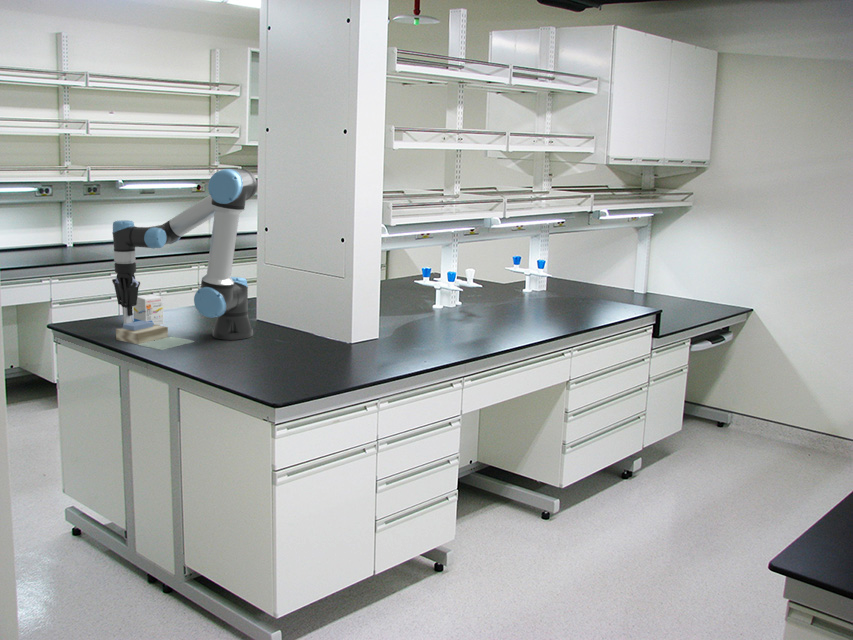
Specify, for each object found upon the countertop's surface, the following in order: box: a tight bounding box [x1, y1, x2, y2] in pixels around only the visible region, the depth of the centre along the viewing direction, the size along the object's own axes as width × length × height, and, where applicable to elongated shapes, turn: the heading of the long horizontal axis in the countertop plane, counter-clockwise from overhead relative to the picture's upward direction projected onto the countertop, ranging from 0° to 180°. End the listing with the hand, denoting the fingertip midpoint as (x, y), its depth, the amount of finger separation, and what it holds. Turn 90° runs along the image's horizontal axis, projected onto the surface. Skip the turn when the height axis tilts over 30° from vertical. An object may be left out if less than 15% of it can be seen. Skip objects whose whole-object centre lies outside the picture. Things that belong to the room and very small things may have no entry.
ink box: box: [132, 293, 164, 326], centre depth 327 cm, size 9×8×12 cm
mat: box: [137, 336, 195, 351], centre depth 298 cm, size 12×16×1 cm
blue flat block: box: [122, 320, 153, 331], centre depth 305 cm, size 6×9×2 cm, turn 150°
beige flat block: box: [115, 324, 169, 345], centre depth 304 cm, size 12×14×4 cm
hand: (128, 323), depth 307 cm, fingers closed
